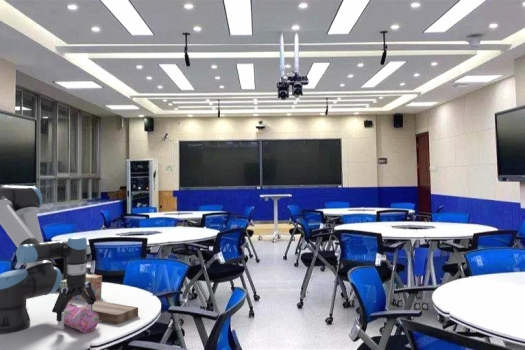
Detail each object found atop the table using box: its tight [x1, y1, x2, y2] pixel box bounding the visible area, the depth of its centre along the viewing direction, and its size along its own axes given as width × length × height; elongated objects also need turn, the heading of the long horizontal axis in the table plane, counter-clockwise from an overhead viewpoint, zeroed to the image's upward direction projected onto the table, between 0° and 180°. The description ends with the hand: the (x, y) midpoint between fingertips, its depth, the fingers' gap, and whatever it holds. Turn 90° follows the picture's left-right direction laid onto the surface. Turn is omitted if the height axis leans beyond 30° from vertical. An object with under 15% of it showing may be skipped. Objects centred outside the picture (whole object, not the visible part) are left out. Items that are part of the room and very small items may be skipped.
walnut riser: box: [79, 300, 139, 325], centre depth 184 cm, size 13×25×4 cm, turn 65°
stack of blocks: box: [60, 274, 103, 301], centre depth 216 cm, size 21×6×12 cm, turn 82°
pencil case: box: [63, 302, 100, 334], centre depth 168 cm, size 21×9×9 cm, turn 50°
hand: (74, 323), depth 167 cm, fingers open, 13 cm apart
